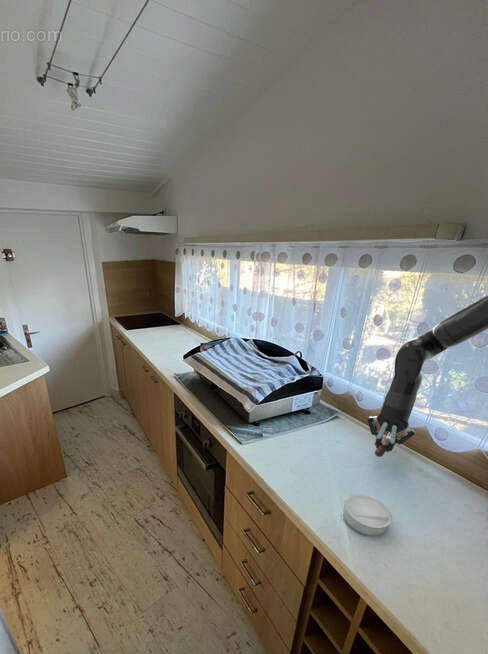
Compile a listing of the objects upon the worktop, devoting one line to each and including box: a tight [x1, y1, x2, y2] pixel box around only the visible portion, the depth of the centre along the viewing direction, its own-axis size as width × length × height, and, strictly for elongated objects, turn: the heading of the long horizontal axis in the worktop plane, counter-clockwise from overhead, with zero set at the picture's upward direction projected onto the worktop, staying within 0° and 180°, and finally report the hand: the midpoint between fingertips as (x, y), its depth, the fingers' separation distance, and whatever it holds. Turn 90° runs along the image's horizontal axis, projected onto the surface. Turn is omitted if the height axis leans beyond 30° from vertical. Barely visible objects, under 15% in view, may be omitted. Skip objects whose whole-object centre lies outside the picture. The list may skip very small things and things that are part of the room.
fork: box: [374, 431, 391, 458], centre depth 102 cm, size 19×2×2 cm, turn 135°
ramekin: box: [343, 493, 393, 536], centre depth 82 cm, size 11×11×5 cm
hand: (382, 448), depth 101 cm, fingers closed on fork, 2 cm apart
